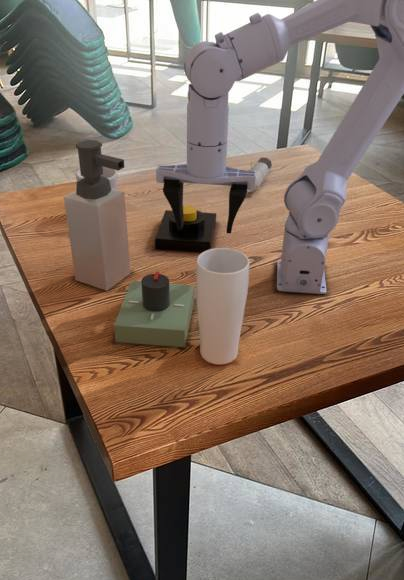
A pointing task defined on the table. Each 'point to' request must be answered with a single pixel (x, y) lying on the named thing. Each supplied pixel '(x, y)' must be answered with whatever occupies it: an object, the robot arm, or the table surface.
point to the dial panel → (155, 318)
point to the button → (189, 213)
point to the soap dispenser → (97, 221)
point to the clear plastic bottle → (261, 171)
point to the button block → (186, 233)
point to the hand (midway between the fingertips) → (204, 228)
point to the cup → (107, 173)
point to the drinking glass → (221, 302)
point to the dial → (155, 292)
